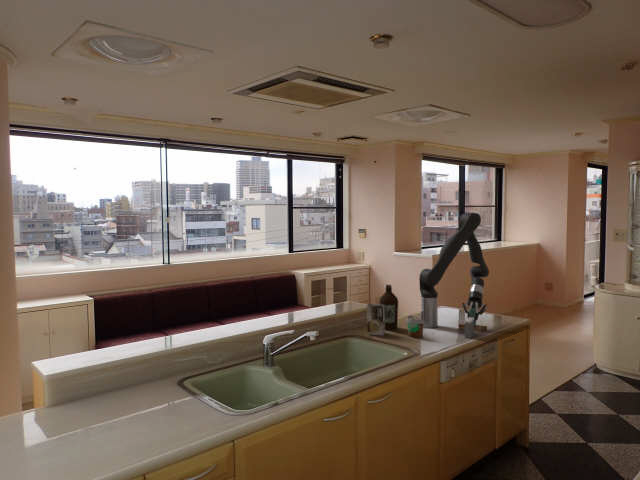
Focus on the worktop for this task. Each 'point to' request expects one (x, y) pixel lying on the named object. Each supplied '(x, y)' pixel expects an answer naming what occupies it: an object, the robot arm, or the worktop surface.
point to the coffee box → (375, 319)
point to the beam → (476, 327)
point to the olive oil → (390, 308)
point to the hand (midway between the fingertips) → (472, 319)
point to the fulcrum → (469, 327)
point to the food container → (415, 327)
